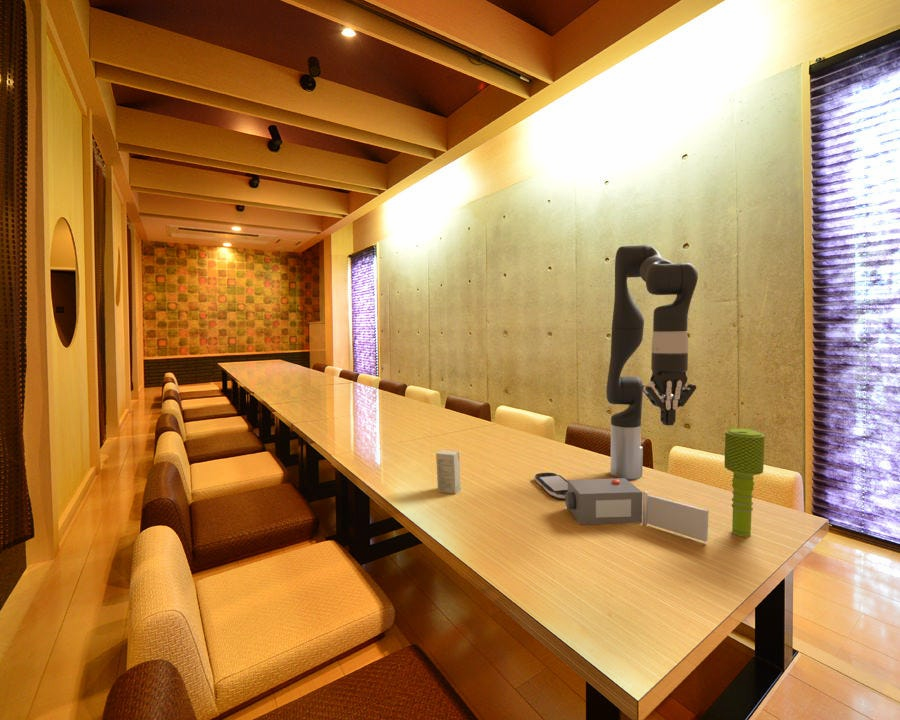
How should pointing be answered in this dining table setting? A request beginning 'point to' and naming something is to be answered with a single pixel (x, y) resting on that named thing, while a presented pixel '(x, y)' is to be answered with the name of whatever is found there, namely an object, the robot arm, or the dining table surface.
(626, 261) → the robot arm
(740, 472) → the green knurled bolt
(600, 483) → the box
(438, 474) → the skincare box
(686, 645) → the dining table surface
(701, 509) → the side door
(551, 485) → the gaming console
